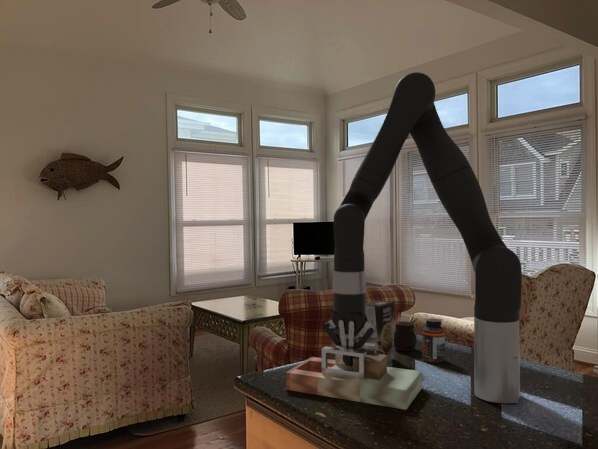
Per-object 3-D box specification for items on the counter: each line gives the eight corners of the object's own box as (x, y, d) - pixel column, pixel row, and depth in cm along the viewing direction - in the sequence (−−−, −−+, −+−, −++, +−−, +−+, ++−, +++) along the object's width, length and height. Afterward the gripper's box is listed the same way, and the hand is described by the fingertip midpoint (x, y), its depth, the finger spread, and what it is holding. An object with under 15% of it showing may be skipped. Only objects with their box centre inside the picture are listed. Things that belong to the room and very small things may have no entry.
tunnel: (376, 368, 117) (376, 343, 117) (363, 380, 109) (363, 353, 109) (336, 363, 121) (336, 339, 121) (321, 373, 113) (321, 348, 113)
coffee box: (379, 367, 131) (379, 306, 131) (358, 362, 135) (358, 303, 135) (395, 359, 139) (394, 301, 138) (374, 355, 143) (374, 299, 142)
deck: (421, 388, 115) (421, 371, 115) (406, 409, 102) (406, 390, 102) (311, 372, 127) (311, 356, 127) (285, 389, 115) (285, 372, 115)
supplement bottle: (418, 358, 139) (418, 318, 139) (436, 356, 141) (436, 316, 141) (430, 364, 133) (430, 322, 133) (449, 362, 135) (449, 321, 135)
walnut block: (387, 372, 114) (386, 355, 114) (379, 380, 109) (378, 361, 108) (362, 369, 117) (362, 352, 117) (353, 376, 111) (353, 358, 111)
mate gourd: (395, 345, 154) (396, 313, 153) (420, 348, 150) (420, 315, 150) (388, 350, 147) (389, 317, 147) (414, 354, 144) (414, 319, 144)
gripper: (381, 290, 115) (381, 364, 115) (329, 286, 121) (329, 357, 121) (371, 294, 108) (371, 373, 109) (316, 290, 114) (316, 365, 115)
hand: (349, 364), depth 115 cm, fingers closed
